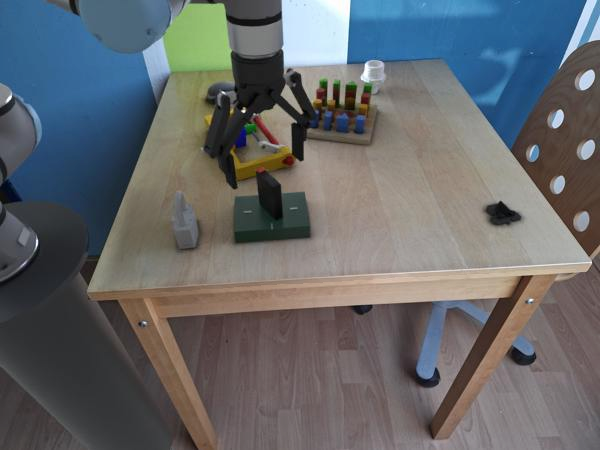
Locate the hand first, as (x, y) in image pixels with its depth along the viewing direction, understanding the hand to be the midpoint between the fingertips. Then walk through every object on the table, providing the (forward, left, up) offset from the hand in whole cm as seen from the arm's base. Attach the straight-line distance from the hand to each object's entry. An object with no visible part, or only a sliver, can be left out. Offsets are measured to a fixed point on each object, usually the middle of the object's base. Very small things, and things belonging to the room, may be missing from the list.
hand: (266, 171), depth 74 cm
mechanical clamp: (-7, +28, -13) cm, 31 cm away
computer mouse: (-10, +53, -13) cm, 55 cm away
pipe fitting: (+31, +51, -13) cm, 61 cm away
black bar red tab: (0, 0, -9) cm, 9 cm away
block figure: (+45, -3, -13) cm, 47 cm away
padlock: (-16, -2, -13) cm, 20 cm away
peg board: (+19, +35, -13) cm, 42 cm away
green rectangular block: (0, 0, -12) cm, 12 cm away
